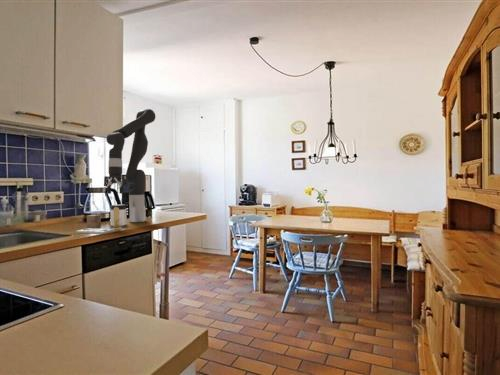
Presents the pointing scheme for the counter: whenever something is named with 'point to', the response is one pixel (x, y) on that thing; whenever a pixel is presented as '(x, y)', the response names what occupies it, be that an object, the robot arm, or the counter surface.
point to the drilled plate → (95, 231)
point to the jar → (121, 214)
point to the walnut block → (93, 221)
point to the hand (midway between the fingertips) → (115, 193)
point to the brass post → (116, 219)
